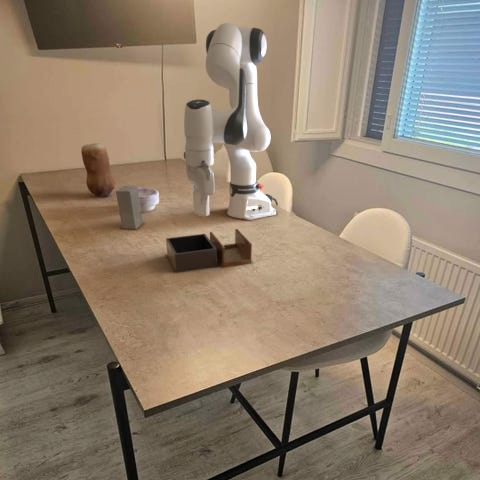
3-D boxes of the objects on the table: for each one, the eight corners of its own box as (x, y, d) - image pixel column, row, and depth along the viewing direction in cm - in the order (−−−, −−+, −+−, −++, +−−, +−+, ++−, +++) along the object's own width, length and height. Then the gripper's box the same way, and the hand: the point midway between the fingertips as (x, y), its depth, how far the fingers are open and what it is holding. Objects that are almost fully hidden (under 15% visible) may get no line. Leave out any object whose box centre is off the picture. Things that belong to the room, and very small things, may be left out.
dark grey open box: (205, 250, 161) (204, 233, 157) (217, 266, 149) (216, 248, 146) (167, 255, 156) (165, 238, 153) (176, 272, 145) (174, 254, 141)
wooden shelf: (237, 246, 164) (237, 228, 160) (251, 262, 152) (252, 243, 148) (209, 250, 161) (209, 231, 157) (222, 267, 149) (221, 247, 145)
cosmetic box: (136, 230, 176) (131, 192, 168) (120, 228, 178) (114, 190, 169) (144, 223, 183) (139, 186, 175) (128, 221, 185) (123, 184, 176)
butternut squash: (94, 191, 219) (85, 140, 206) (120, 192, 219) (112, 140, 205) (85, 200, 208) (74, 146, 194) (112, 201, 207) (104, 146, 194)
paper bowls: (147, 201, 208) (146, 185, 203) (166, 209, 199) (164, 192, 194) (120, 208, 199) (117, 191, 194) (138, 216, 190) (136, 199, 185)
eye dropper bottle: (198, 217, 142) (197, 181, 135) (192, 212, 146) (191, 176, 139) (210, 216, 143) (209, 179, 137) (204, 211, 147) (203, 175, 141)
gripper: (219, 164, 127) (219, 210, 135) (200, 150, 143) (201, 191, 151) (198, 166, 125) (200, 212, 133) (182, 151, 142) (184, 193, 149)
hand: (201, 201), depth 142 cm, fingers closed on eye dropper bottle, 5 cm apart
